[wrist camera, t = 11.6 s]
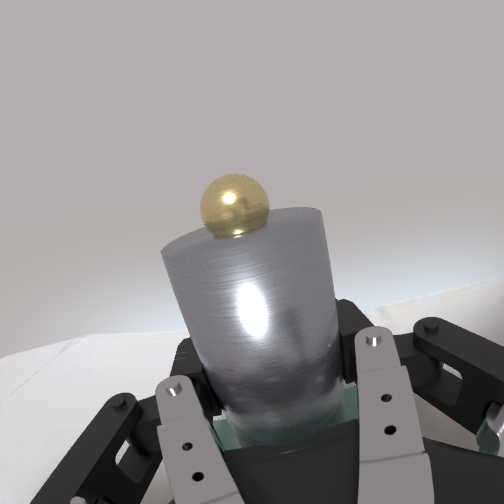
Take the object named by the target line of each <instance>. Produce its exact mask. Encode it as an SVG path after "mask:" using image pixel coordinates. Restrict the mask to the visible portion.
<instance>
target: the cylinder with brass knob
mask: <svg viewBox="0 0 504 504" xmlns="http://www.w3.org/2000/svg"><path fill="white" fill-rule="evenodd" d="M200 212H201V217H202V220H203V223H204V225H205V227H204V228H201V229H198V230H195V231H193V232H190V233H188V234H186V235H184V236H181V237H179V238H177V239H176V240H174V241H172V242H170V243H169V244H167V245H166V246H165V247H164V248H163V249H162V250H161V255H162V258H163V261H164V264H165V267H166V270H167V273H168V276H169V279H170V282H171V285H172V288H173V291H174V293H175V296H176V299H177V302H178V304H179V307H180V310H181V313H182V315H183V318H184V321H185V323H186V326H187V328H188V331H189V334H190V336H191V339H192V341H193V344H194V346H195V349H196V351H197V353H198V356H199V358H200V361H201V363H202V365H203V368H204V370H205V372H206V375H207V377H208V379H209V382H210V384H211V386H212V388H213V390H214V393H215V395H216V397H217V399H218V401H219V404H220V406H221V408H222V410H223V412H224V414H225V416H226V418H227V420H228V422H229V424H230V426H231V428H232V430H233V432H234V434H235V436H236V438H237V440H238V442H239V444H240V446H241V448H245V447H251V446H272V445H292V444H295V443H297V442H300V441H302V440H304V439H306V438H308V437H310V436H312V435H314V434H316V433H318V432H320V431H322V430H324V429H326V428H329V427H332V426H335V425H338V424H341V423H344V422H346V418H345V397H344V382H343V369H342V357H341V346H340V336H339V326H338V317H337V309H336V301H335V294H334V287H333V280H332V274H331V273H332V272H331V266H330V259H329V253H328V247H327V242H326V235H325V230H324V224H323V219H322V214H321V211H320V210H318V209H315V208H306V207H295V208H283V209H276V210H269V200H268V197H267V194H266V192H265V191H264V189H263V188H262V186H261V185H260V184H259V183H258V182H257V181H255V180H254V179H252V178H250V177H248V176H245V175H241V174H229V175H225V176H222V177H220V178H218V179H216V180H215V181H214V182H212V183H211V184H210V185H209V186H208V187H207V189H206V190H205V192H204V194H203V196H202V199H201V205H200Z"/></svg>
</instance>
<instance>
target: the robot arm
mask: <svg viewBox="0 0 504 504" xmlns="http://www.w3.org/2000/svg"><path fill="white" fill-rule="evenodd" d="M335 301H336V309H337V317H338V326H339V336H340V346H341V357H342V369H343V378H344V380H345V382H346V384H349V383H351V382H354V381H355V383H356V385H357V414H358V421H357V418H356V419H353V420H350V421H347V422H344V423H341V424H338V425H335V426H332V427H329V428H326V429H324V430H322V431H320V432H318V433H316V434H314V435H312V436H310V437H308V438H306V439H304V440H302V441H300V442H297V443H295V444H292V445H272V446H251V447H245V448H239V449H232V450H225V448H224V446H223V444H222V441H221V439H220V437H219V435H218V433H217V431H216V429H215V427H214V425H213V416H218V415H222V408H221V406H220V404H219V401H218V399H217V397H216V395H215V393H214V390H213V388H212V386H211V384H210V382H209V379H208V377H207V375H206V372H205V370H204V368H203V365H202V363H201V361H200V358H199V356H198V353H197V351H196V349H195V346H194V344H193V341H192V339H191V336H190V338H186V339H183V341H182V342H181V343H180V344H179V345H178V348H177V351H176V355H175V358H174V359H175V360H174V362H173V366H172V370H171V373H170V377H168V378H166V379H164V380H163V381H162V382H160V383H159V384H158V386H157V387H156V390H155V394H156V395H154V396H151V397H149V398H146V399H143V400H139V401H137V399H136V398H135V396H134V395H133V394H131V393H120V394H117V395H115V396H113V397H111V398H110V399H109V400H108V401H107V402H106V403H105V404H104V406H103V407H102V408H101V409H100V411H99V412H98V413H97V415H96V416H95V417H94V419H93V420H92V421H91V422H90V424H89V425H88V426H87V428H86V429H85V430H84V431H83V433H82V434H81V435H80V437H79V438H78V439H77V441H76V442H75V443H74V445H73V446H72V447H71V449H70V450H69V451H68V453H67V454H66V455H65V456H64V458H63V459H62V460H61V462H60V463H59V465H58V466H57V467H56V469H55V470H54V471H53V473H52V474H51V475H50V477H49V478H48V479H47V481H46V482H45V483H44V485H43V486H42V487H41V489H40V490H39V492H38V493H37V494H36V496H35V497H34V499H33V500H32V501H31V503H30V504H140V502H141V501H142V499H143V497H144V495H145V493H146V491H147V489H148V487H149V485H150V483H151V481H152V479H153V477H154V475H155V473H156V471H157V469H158V467H159V465H160V463H161V461H162V459H163V460H164V464H165V468H166V472H167V475H168V479H169V483H170V486H171V490H172V493H173V497H174V499H173V500H172V501H171V502H170V503H169V504H504V347H503V346H501V345H499V344H496V343H494V342H492V341H490V340H488V339H486V338H483V337H481V336H479V335H477V334H475V333H472V332H470V331H468V330H466V329H463V328H461V327H459V326H457V325H455V324H452V323H450V322H448V321H446V320H443V319H441V318H437V317H427V318H423V319H421V320H419V321H417V322H416V323H415V325H414V327H413V333H407V334H401V335H393V334H392V332H391V331H390V330H389V329H387V328H385V327H380V326H374V325H373V324H372V323H371V322H370V320H369V319H368V318H367V317H366V316H365V315H364V314H363V313H362V312H361V311H360V310H359V309H358V308H357V306H356V305H355V304H354V303H353V302H351V301H348V300H346V299H342V300H339V301H338V300H337V299H336V298H335ZM444 363H445V364H447V365H448V366H450V367H452V368H454V369H455V370H457V371H458V372H459V373H460V374H461V376H462V379H460V378H458V377H457V376H455V375H453V374H452V373H450V372H448V371H446V370H445V369H443V364H444ZM413 392H414V393H416V394H417V395H419V396H420V397H421V398H423V399H424V400H426V401H427V402H429V403H430V404H431V405H433V406H434V407H436V408H437V409H438V410H440V411H441V412H443V413H444V414H446V415H447V416H449V417H450V418H451V419H453V420H454V421H456V422H457V423H459V424H460V425H461V426H463V427H464V428H466V429H467V430H469V431H470V432H472V433H473V434H475V435H476V440H477V444H478V446H479V447H480V448H479V451H480V452H477V451H473V450H468V449H464V448H460V447H456V446H452V445H449V444H445V443H442V442H438V441H435V440H431V439H428V438H425V437H422V434H421V428H420V423H419V418H418V413H417V408H416V404H415V399H414V395H413ZM125 440H126V441H127V442H128V444H129V445H130V446H129V447H128V449H127V451H126V452H125V454H124V455H123V457H122V459H121V460H120V462H119V464H118V465H117V464H116V461H115V458H116V454H117V452H118V451H119V449H120V448H121V446H122V445H123V443H124V441H125Z"/></svg>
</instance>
